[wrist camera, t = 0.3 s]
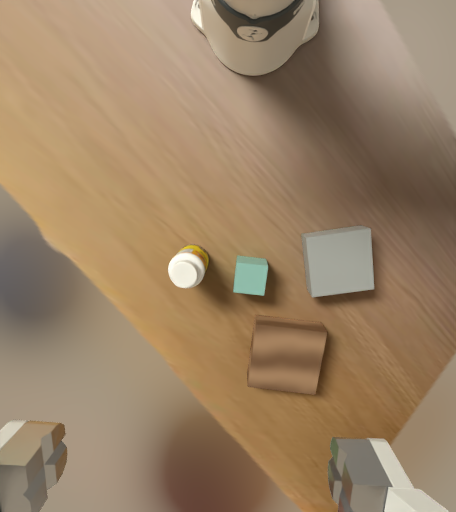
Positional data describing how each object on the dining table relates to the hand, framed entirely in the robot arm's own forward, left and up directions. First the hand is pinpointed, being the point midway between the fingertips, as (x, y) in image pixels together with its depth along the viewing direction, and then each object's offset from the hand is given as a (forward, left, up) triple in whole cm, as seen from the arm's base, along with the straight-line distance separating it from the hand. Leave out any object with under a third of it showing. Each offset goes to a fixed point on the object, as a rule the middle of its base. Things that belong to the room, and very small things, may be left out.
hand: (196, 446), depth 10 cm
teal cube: (+7, +4, -46) cm, 47 cm away
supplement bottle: (+6, -6, -46) cm, 47 cm away
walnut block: (+21, +12, -46) cm, 52 cm away
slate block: (+3, +18, -46) cm, 49 cm away
